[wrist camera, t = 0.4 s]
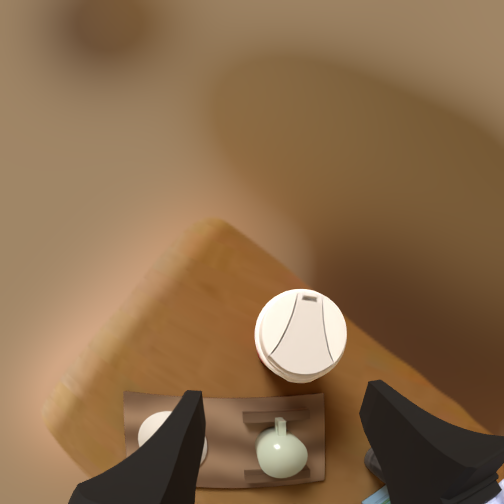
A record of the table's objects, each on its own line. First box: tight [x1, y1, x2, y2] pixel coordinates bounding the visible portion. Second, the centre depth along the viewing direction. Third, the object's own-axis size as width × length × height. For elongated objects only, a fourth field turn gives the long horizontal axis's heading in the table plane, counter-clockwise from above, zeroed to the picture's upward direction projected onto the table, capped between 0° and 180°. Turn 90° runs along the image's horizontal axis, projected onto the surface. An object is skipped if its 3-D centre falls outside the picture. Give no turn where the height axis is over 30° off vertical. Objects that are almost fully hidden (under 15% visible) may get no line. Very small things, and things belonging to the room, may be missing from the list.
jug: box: [255, 417, 308, 478], centre depth 28 cm, size 7×5×6 cm
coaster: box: [138, 411, 207, 464], centre depth 29 cm, size 9×9×1 cm
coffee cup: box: [255, 289, 347, 383], centre depth 30 cm, size 8×8×15 cm
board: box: [124, 391, 325, 488], centre depth 29 cm, size 13×26×3 cm, turn 91°
